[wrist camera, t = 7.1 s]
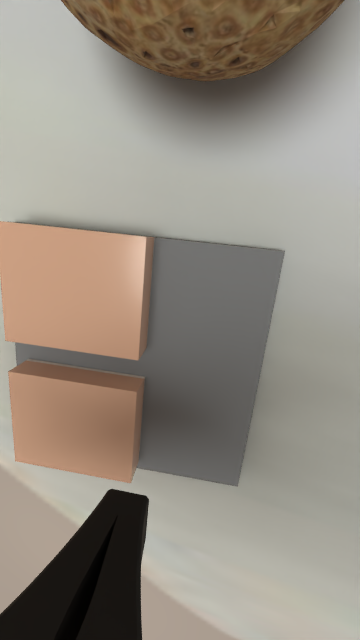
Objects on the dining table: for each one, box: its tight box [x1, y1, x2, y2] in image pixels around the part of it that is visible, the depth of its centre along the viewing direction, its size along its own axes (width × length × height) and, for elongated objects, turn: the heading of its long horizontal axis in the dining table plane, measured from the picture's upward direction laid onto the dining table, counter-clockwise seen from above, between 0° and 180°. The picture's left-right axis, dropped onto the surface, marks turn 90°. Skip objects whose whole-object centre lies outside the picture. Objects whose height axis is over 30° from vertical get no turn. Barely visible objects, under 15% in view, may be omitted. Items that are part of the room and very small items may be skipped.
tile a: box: [0, 221, 155, 360], centre depth 12 cm, size 2×5×6 cm
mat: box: [15, 222, 285, 486], centre depth 14 cm, size 12×12×1 cm
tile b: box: [8, 359, 145, 483], centre depth 14 cm, size 2×5×6 cm
